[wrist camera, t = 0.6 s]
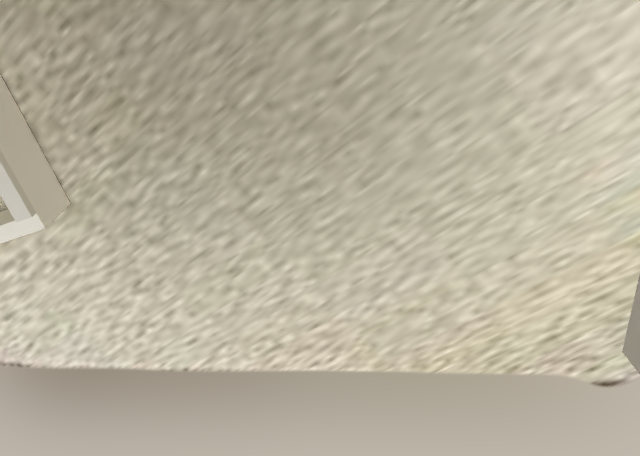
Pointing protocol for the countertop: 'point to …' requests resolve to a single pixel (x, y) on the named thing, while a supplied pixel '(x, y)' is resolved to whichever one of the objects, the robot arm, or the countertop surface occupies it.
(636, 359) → the robot arm
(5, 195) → the grey low-walled frame
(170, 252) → the countertop surface
